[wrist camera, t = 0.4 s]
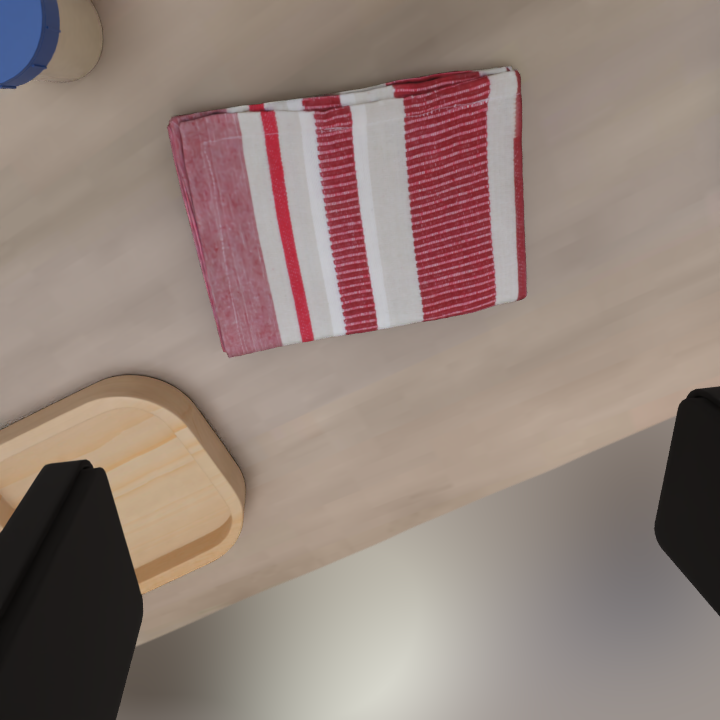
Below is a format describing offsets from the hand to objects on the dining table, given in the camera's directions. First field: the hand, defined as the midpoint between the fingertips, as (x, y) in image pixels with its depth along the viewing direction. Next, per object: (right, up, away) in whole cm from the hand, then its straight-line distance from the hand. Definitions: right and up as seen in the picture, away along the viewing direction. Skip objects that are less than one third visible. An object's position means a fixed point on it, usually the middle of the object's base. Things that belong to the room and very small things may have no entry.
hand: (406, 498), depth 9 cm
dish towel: (-1, +13, +32) cm, 35 cm away
